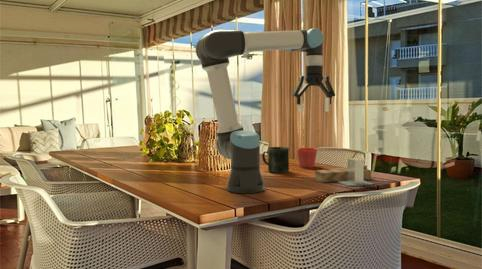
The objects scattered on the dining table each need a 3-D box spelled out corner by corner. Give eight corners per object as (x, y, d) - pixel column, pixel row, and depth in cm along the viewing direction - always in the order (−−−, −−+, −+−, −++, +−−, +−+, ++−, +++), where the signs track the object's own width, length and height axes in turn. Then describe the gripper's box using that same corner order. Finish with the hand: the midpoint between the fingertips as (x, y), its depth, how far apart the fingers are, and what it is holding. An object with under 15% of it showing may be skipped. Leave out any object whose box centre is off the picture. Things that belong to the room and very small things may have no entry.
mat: (348, 186, 170) (348, 185, 170) (337, 182, 178) (337, 181, 178) (373, 184, 173) (373, 183, 172) (362, 180, 181) (362, 179, 181)
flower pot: (293, 165, 226) (293, 148, 226) (311, 164, 230) (311, 147, 229) (301, 168, 216) (301, 150, 216) (320, 167, 220) (320, 149, 219)
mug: (284, 174, 201) (284, 149, 200) (257, 171, 208) (257, 148, 207) (292, 170, 210) (292, 147, 209) (267, 168, 217) (267, 146, 216)
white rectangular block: (354, 184, 172) (355, 160, 171) (347, 181, 178) (347, 158, 177) (363, 183, 173) (363, 160, 172) (356, 180, 179) (356, 158, 178)
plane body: (321, 182, 180) (321, 169, 179) (314, 179, 186) (314, 166, 186) (371, 178, 186) (371, 166, 185) (362, 176, 192) (363, 164, 192)
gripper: (335, 66, 196) (334, 111, 197) (285, 65, 189) (285, 111, 191) (342, 65, 188) (342, 111, 190) (292, 64, 182) (291, 112, 184)
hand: (313, 111), depth 191 cm, fingers open, 13 cm apart
